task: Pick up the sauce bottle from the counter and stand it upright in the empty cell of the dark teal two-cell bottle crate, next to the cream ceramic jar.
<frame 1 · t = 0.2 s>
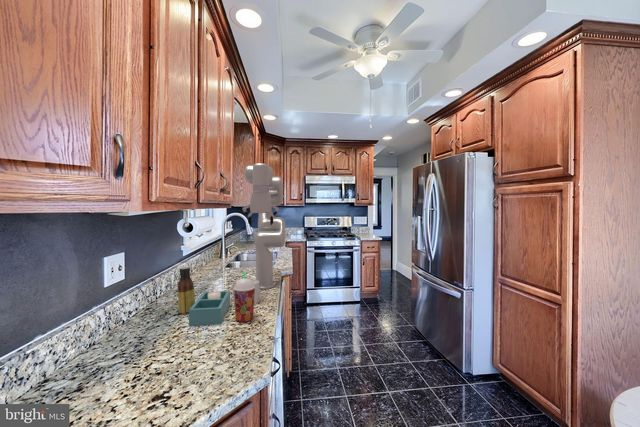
hand: (261, 225, 131), 37 cm above the table, tool pointing down, fingers open, 9 cm apart
toilet tissue: (246, 304, 128), on the table
cream jar: (214, 309, 119), point 1 cm above the table, touching bottle crate
bottle crate: (211, 316, 114), on the table
sauce bottle: (186, 314, 116), on the table
smoothie: (244, 321, 109), on the table
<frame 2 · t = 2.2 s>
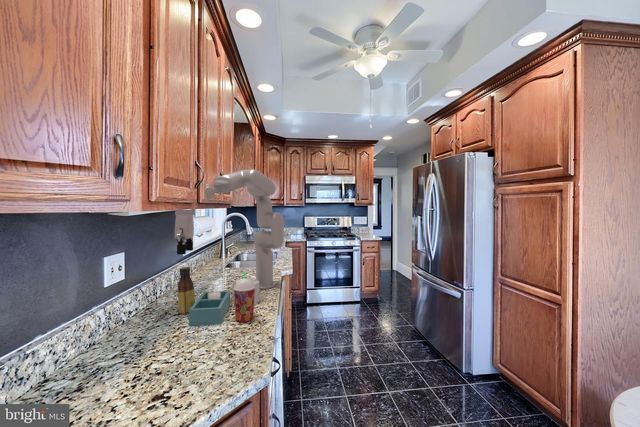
hand: (185, 252, 115), 26 cm above the table, tool pointing down, fingers open, 9 cm apart
nothing on the table moved.
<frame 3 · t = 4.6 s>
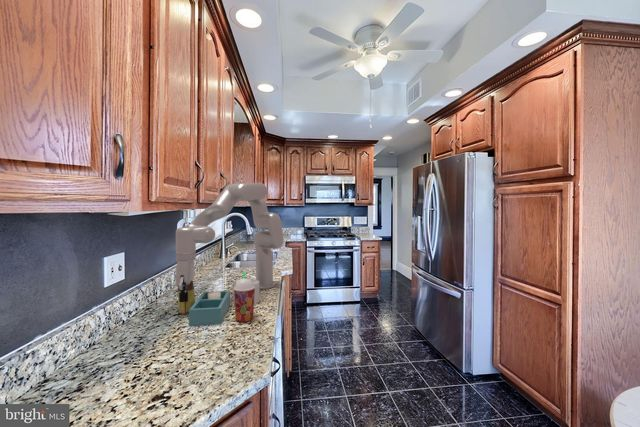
hand: (186, 298, 116), 7 cm above the table, tool pointing down, fingers closed on sauce bottle, 6 cm apart
sauce bottle: (186, 314, 116), on the table, touching gripper
everything else where it was.
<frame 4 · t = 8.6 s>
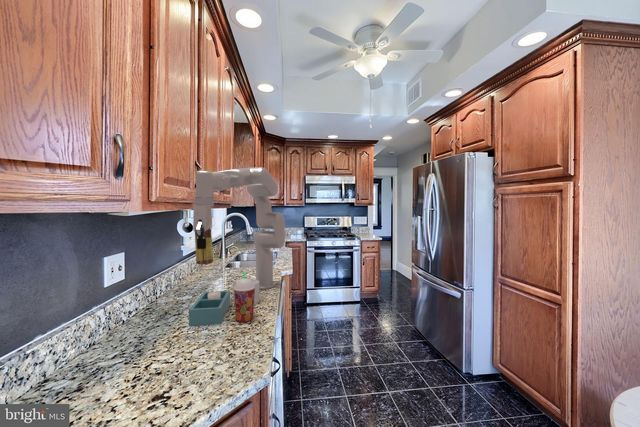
hand: (204, 246, 109), 29 cm above the table, tool pointing down, fingers closed on sauce bottle, 6 cm apart
sauce bottle: (204, 263, 109), point 23 cm above the table, touching gripper
everything else where it was.
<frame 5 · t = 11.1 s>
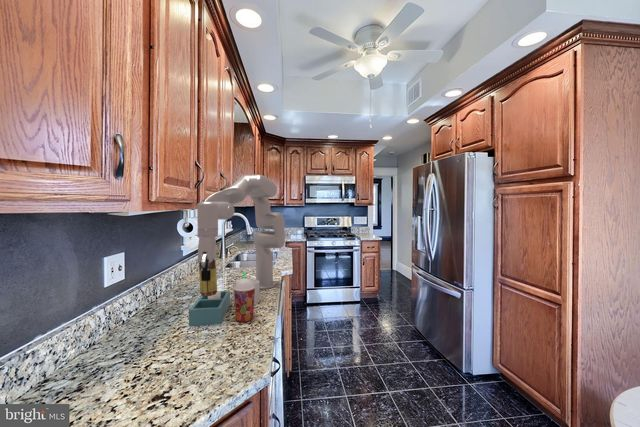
hand: (208, 277, 108), 17 cm above the table, tool pointing down, fingers closed on sauce bottle, 6 cm apart
sauce bottle: (208, 295, 108), point 11 cm above the table, touching gripper
everything else where it was.
when the fingers open (10 cm above the table, at t = 13.1 s): sauce bottle drops 2 cm, resting on bottle crate.
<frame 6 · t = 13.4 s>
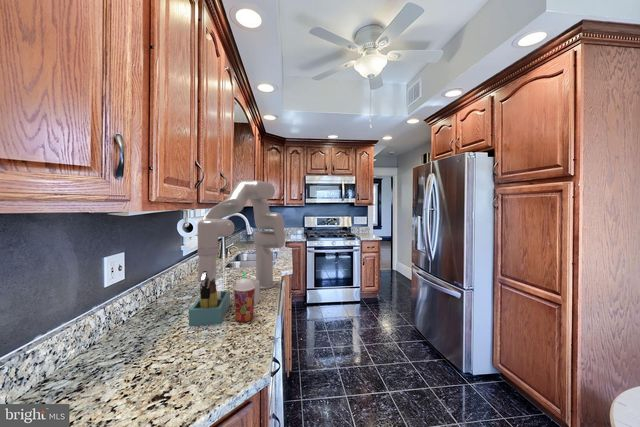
hand: (208, 294, 108), 11 cm above the table, tool pointing down, fingers open, 9 cm apart
sauce bottle: (209, 318, 109), point 1 cm above the table, touching bottle crate
everything else where it was.
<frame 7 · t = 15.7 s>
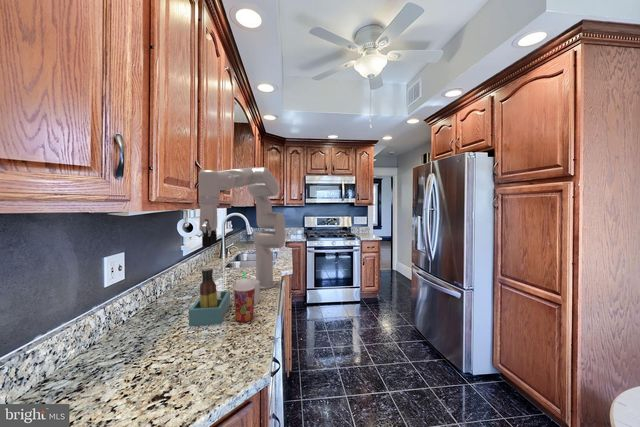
hand: (209, 244, 109), 30 cm above the table, tool pointing down, fingers open, 9 cm apart
nothing on the table moved.
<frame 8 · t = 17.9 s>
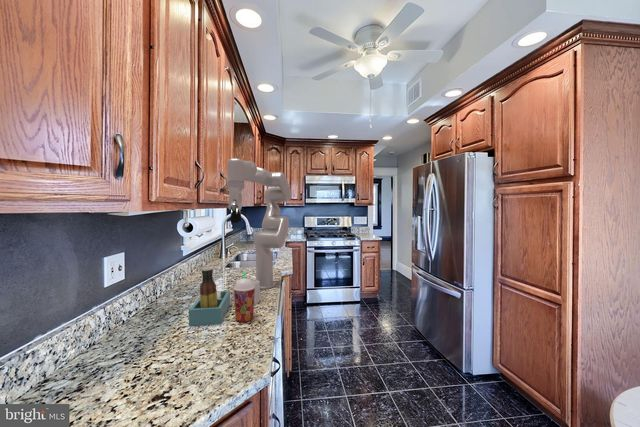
hand: (236, 222, 129), 38 cm above the table, tool pointing down, fingers open, 9 cm apart
nothing on the table moved.
at the end: sauce bottle 0.3 cm from the target spot on the bottle crate, point 0.8 cm above the bottle crate's base; sauce bottle tilted 0°; the gripper is holding nothing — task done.
